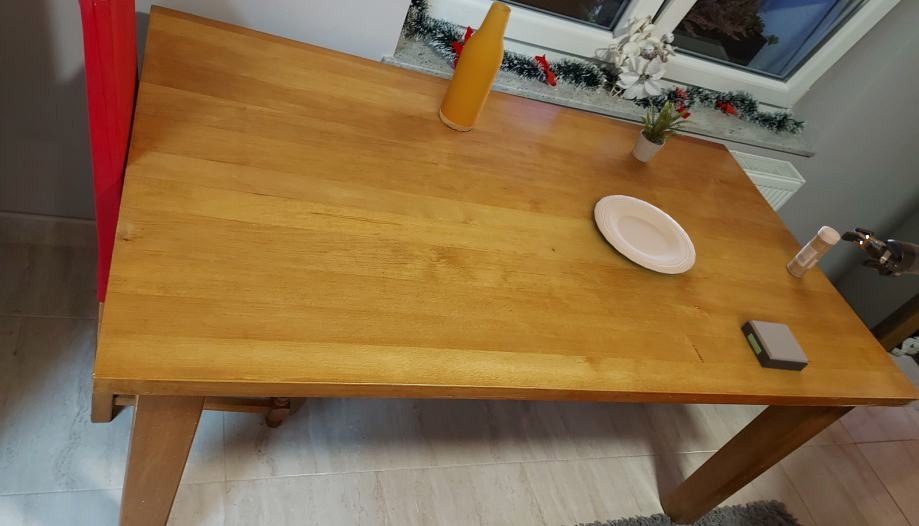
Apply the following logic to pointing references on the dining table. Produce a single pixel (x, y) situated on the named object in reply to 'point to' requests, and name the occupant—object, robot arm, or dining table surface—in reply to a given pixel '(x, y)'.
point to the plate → (644, 234)
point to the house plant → (656, 132)
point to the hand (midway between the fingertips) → (853, 248)
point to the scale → (774, 345)
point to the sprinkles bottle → (813, 251)
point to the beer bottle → (477, 69)
